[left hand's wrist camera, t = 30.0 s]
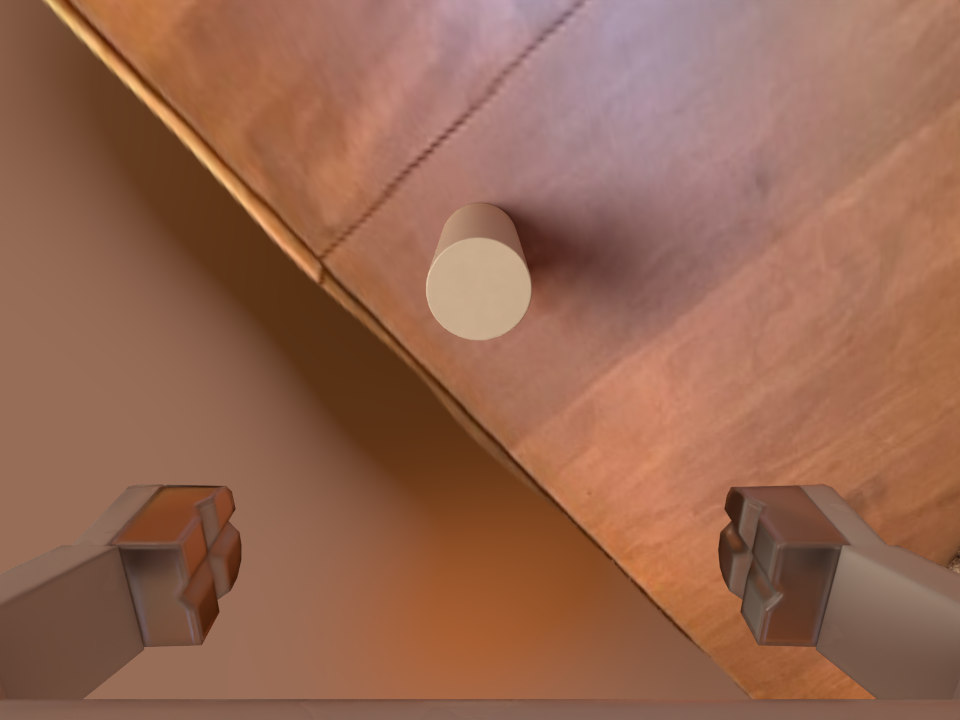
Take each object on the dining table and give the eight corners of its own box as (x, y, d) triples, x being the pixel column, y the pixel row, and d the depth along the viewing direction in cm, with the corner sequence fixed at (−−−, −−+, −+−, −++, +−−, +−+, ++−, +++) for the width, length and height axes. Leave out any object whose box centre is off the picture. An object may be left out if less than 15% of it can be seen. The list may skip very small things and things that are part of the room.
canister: (496, 291, 33) (501, 357, 24) (428, 259, 33) (408, 313, 24) (531, 224, 32) (551, 267, 23) (461, 189, 32) (454, 218, 22)
